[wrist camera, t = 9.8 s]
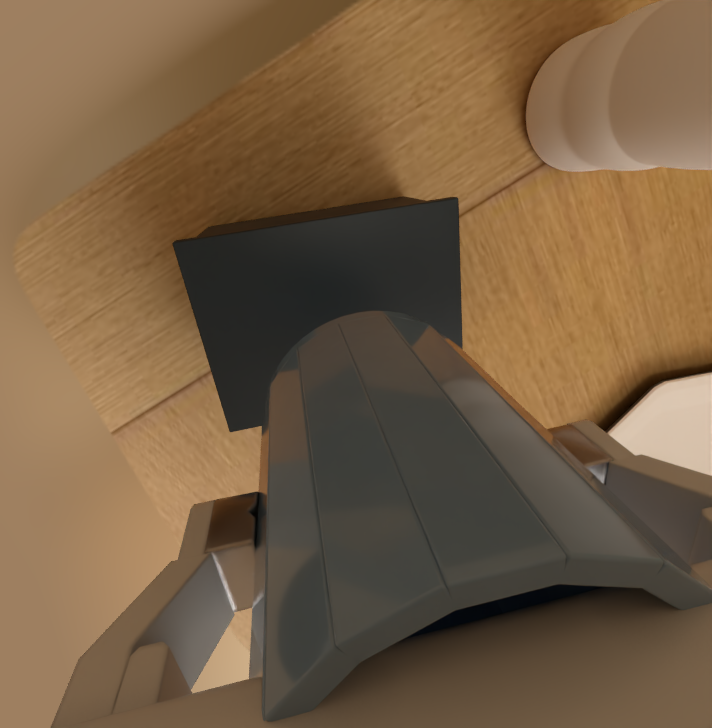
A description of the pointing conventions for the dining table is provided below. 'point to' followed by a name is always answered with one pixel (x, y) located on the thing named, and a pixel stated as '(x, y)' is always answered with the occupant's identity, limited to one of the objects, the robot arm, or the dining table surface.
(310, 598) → the cup
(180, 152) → the dining table surface
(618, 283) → the dining table surface
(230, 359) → the container
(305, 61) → the dining table surface
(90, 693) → the robot arm
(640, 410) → the plate
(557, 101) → the water bottle
